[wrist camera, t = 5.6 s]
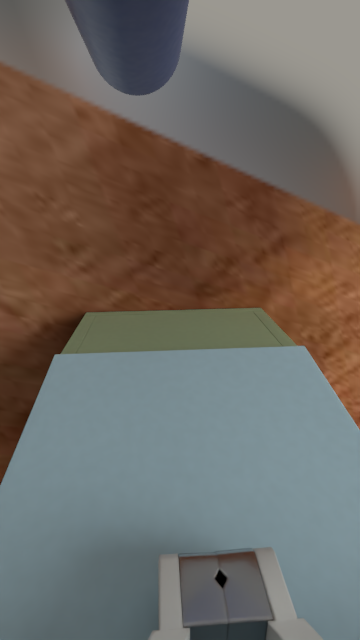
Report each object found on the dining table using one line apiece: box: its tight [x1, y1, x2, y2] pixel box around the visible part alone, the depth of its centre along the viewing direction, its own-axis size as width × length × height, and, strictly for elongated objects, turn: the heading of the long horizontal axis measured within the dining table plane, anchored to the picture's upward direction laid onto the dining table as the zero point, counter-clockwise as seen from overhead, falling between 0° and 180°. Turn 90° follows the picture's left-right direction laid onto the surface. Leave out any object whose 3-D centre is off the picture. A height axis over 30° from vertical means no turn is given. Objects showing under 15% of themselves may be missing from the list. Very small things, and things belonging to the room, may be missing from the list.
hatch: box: [0, 346, 360, 640], centre depth 12 cm, size 17×14×1 cm
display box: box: [61, 308, 297, 354], centre depth 26 cm, size 16×14×8 cm
